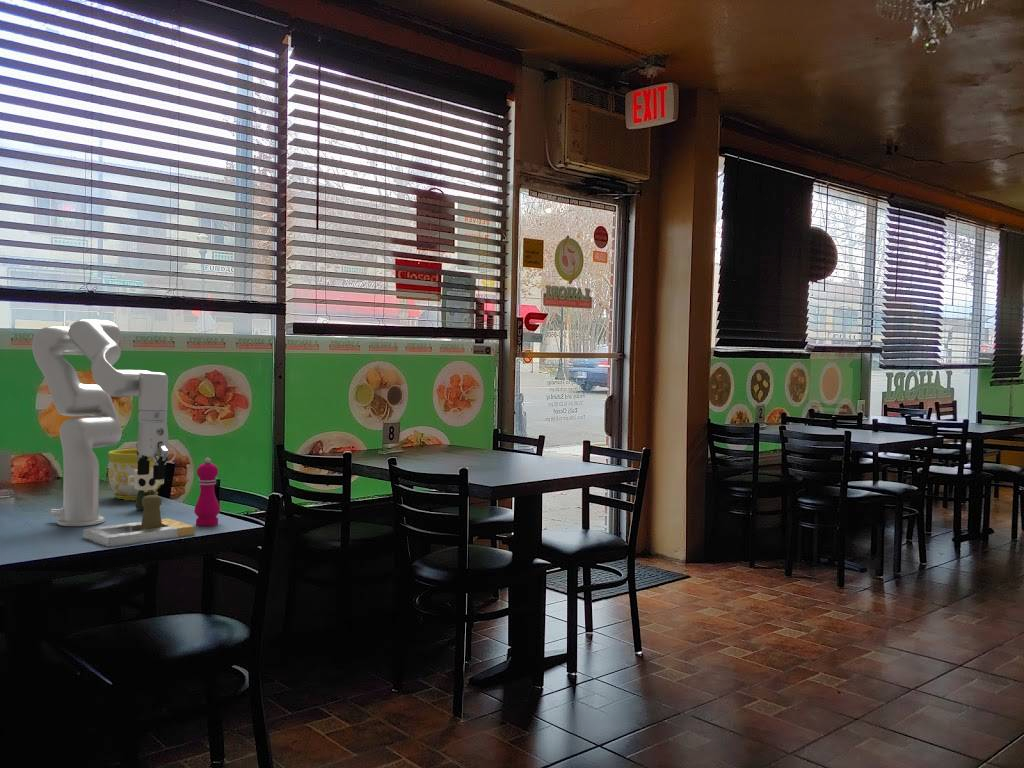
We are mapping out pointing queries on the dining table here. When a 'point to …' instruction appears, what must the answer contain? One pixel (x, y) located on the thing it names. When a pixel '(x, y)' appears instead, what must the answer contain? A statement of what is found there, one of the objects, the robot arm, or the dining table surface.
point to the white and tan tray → (137, 532)
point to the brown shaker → (151, 512)
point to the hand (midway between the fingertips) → (151, 476)
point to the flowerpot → (125, 472)
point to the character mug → (143, 485)
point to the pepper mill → (207, 495)
